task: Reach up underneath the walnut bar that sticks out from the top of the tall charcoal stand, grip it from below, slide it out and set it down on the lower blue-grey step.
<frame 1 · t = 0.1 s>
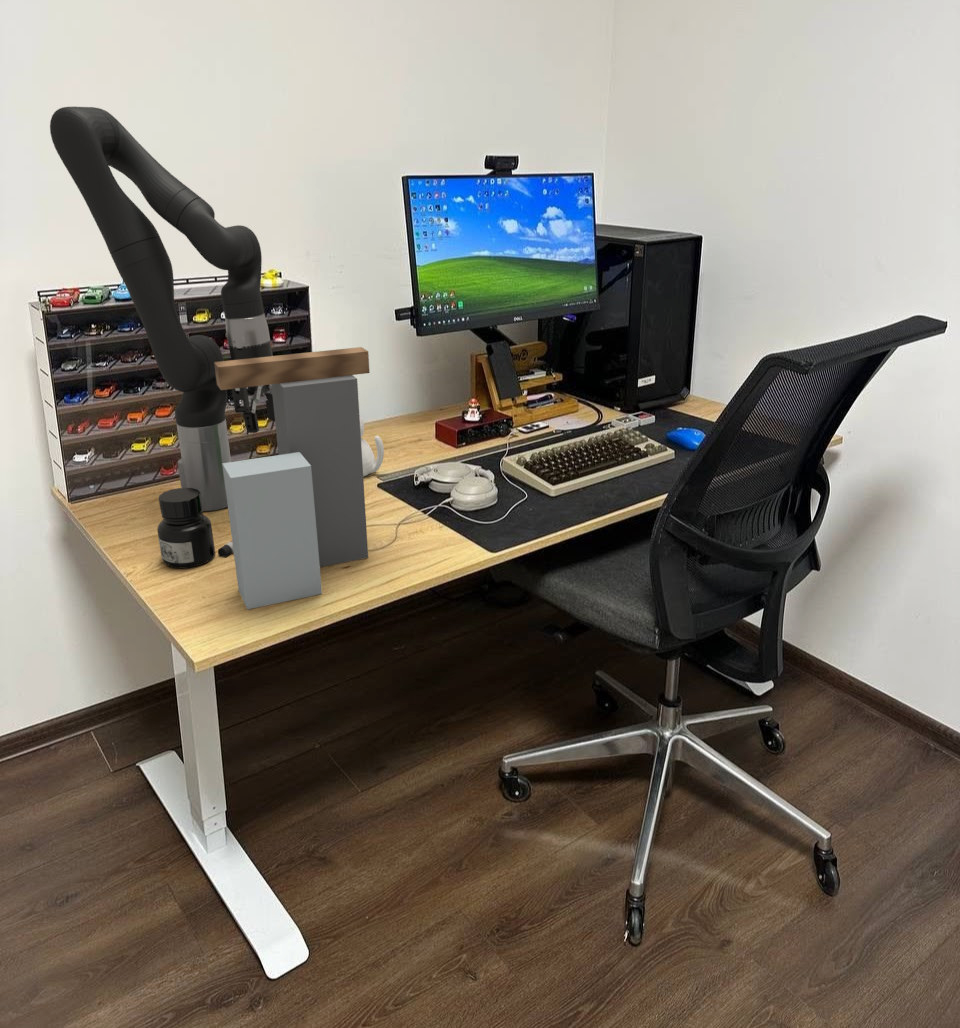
hand: (264, 425, 169), 17 cm above the table, tool pointing down, fingers open, 8 cm apart
charcoal stand: (327, 553, 157), on the table
cat figurine: (357, 474, 194), on the table
walnut bar: (294, 378, 143), point 32 cm above the table, touching charcoal stand
blue-grey step: (280, 592, 144), on the table
ink bottle: (189, 559, 156), on the table
marker: (250, 542, 163), on the table
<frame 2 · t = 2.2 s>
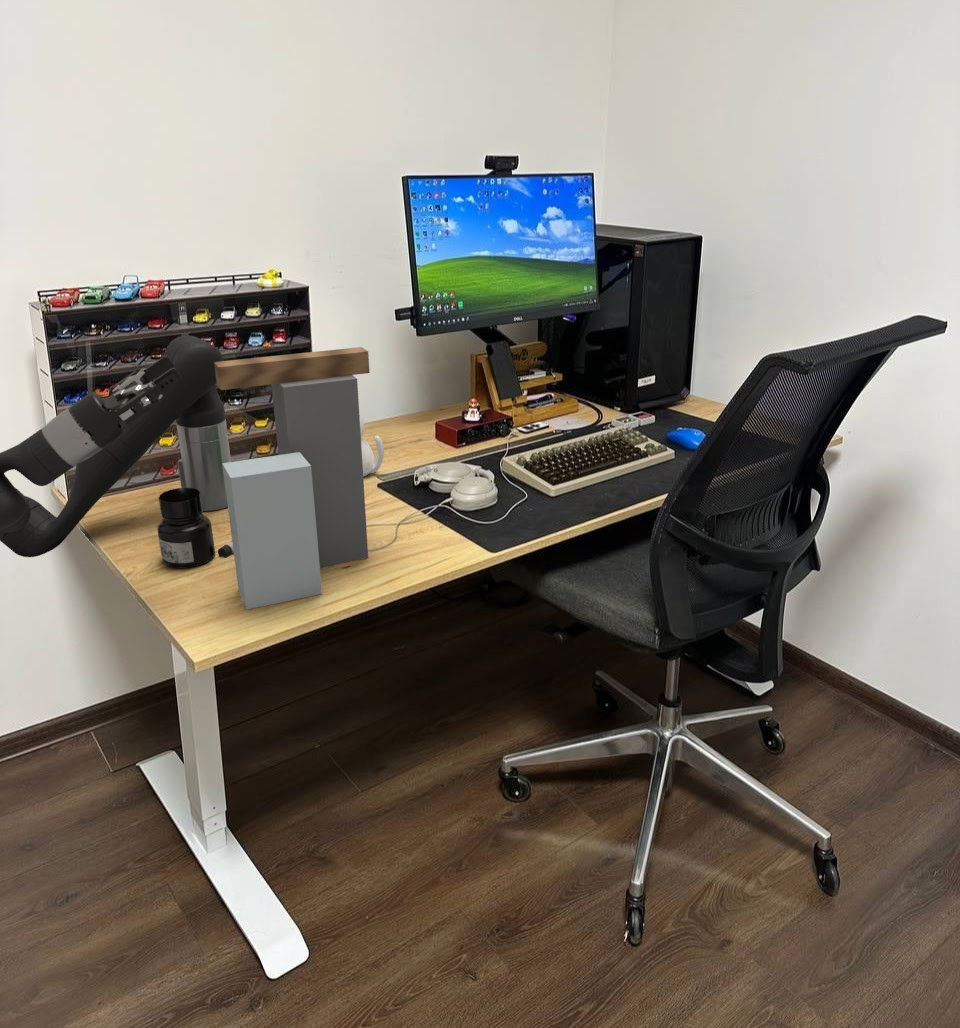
hand: (174, 366, 135), 36 cm above the table, tool pointing upward, fingers open, 8 cm apart
nothing on the table moved.
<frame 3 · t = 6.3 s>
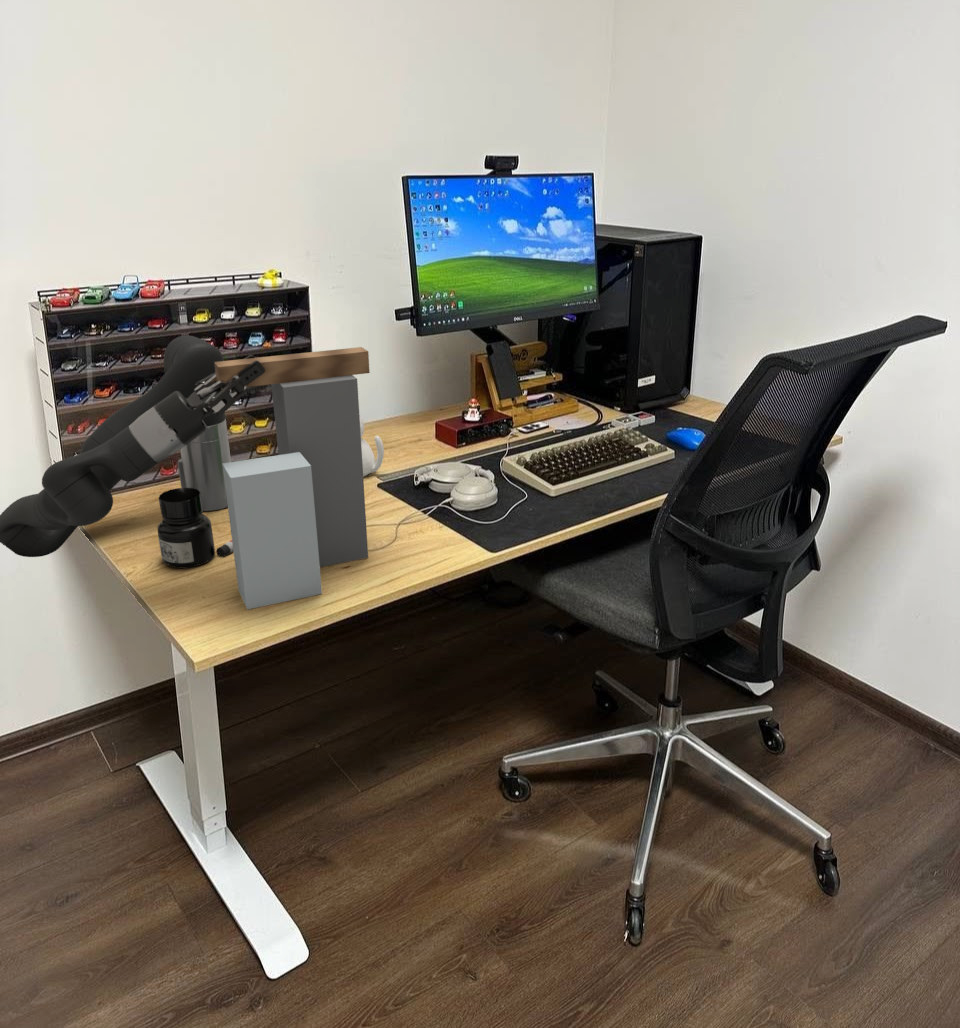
hand: (258, 362, 140), 35 cm above the table, tool pointing upward, fingers closed on walnut bar, 3 cm apart
walnut bar: (294, 378, 143), point 32 cm above the table, touching charcoal stand, gripper
everything else where it was.
when the fingers open (27 cm above the table, at t = 11.9 s): walnut bar drops 1 cm, resting on blue-grey step.
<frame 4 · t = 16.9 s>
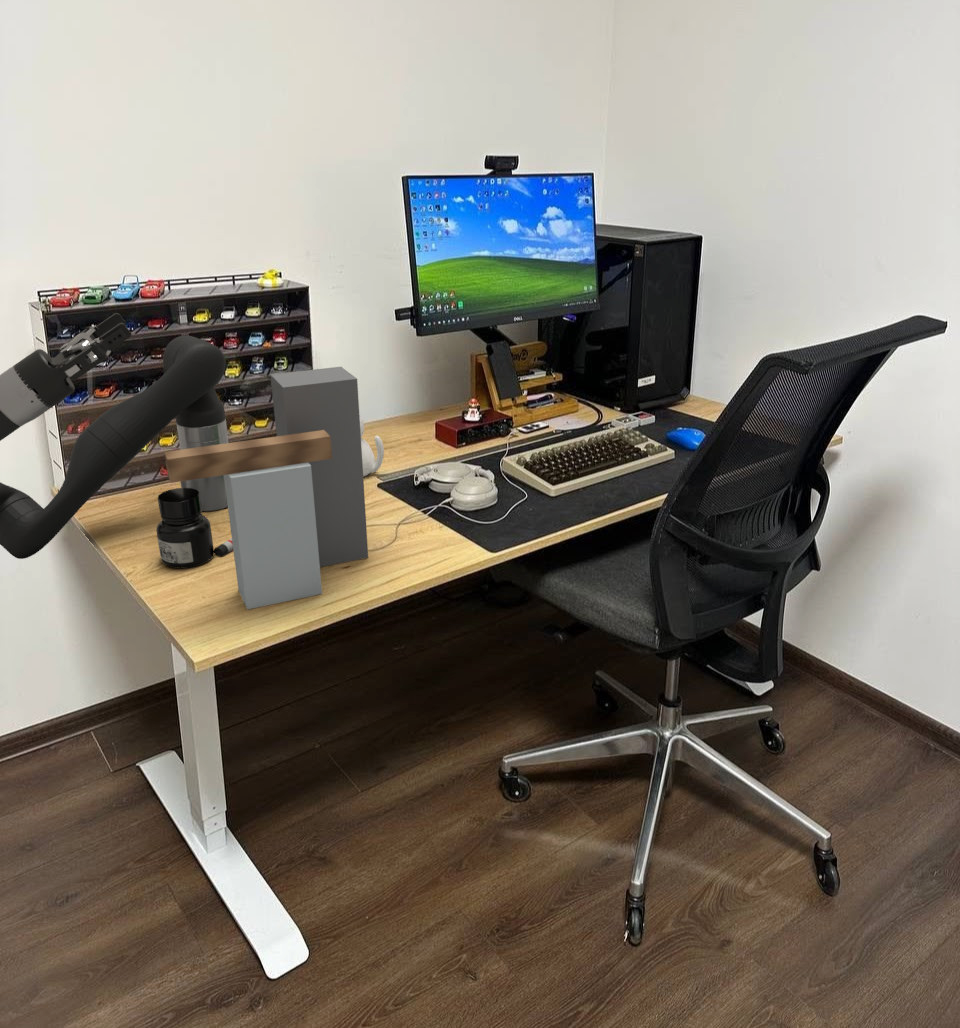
hand: (124, 323, 130), 43 cm above the table, tool pointing upward, fingers open, 8 cm apart
walnut bar: (251, 466, 135), point 22 cm above the table, touching blue-grey step
everything else where it was.
at the end: walnut bar inside the target area on the blue-grey step (2.2 cm from its centre), point 22.0 cm above the blue-grey step's base; walnut bar touching blue-grey step; the gripper is holding nothing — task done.
